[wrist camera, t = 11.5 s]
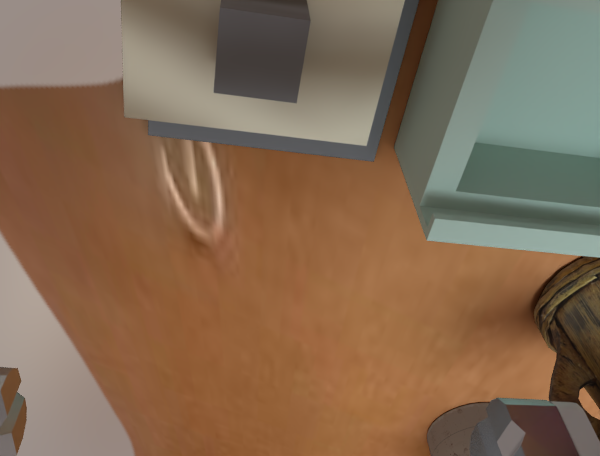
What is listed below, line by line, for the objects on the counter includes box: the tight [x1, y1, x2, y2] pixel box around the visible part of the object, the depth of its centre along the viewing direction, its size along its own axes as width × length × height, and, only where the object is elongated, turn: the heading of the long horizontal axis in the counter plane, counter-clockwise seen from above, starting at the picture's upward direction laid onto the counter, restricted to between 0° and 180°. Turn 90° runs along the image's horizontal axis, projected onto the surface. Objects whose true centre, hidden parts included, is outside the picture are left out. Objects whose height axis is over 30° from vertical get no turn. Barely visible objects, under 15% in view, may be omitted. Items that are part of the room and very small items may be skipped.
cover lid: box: [121, 0, 405, 146], centre depth 25 cm, size 10×12×4 cm
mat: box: [148, 0, 419, 162], centre depth 27 cm, size 13×12×1 cm
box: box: [394, 0, 600, 258], centre depth 25 cm, size 11×13×8 cm
